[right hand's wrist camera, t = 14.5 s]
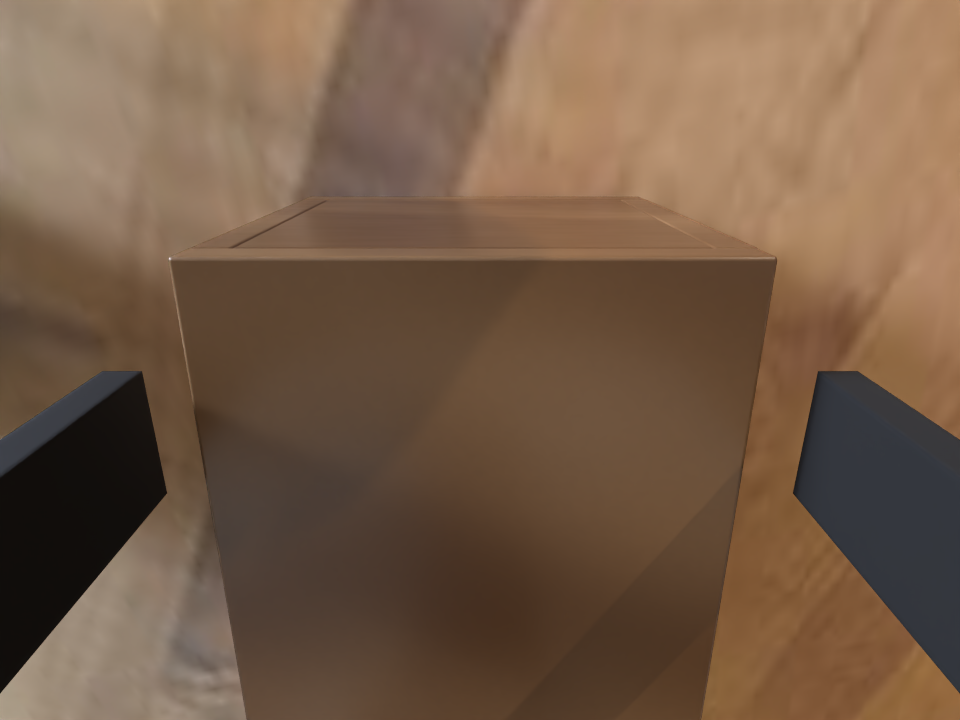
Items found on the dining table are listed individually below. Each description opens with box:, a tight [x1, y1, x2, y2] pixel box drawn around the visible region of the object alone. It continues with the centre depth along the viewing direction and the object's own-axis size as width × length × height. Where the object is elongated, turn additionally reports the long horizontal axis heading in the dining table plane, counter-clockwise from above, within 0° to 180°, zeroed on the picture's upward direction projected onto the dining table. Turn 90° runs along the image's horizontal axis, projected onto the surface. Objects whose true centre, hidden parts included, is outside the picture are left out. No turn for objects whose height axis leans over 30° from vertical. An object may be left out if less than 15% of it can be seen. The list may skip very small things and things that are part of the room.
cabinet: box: [169, 197, 777, 720], centre depth 18 cm, size 16×11×10 cm
